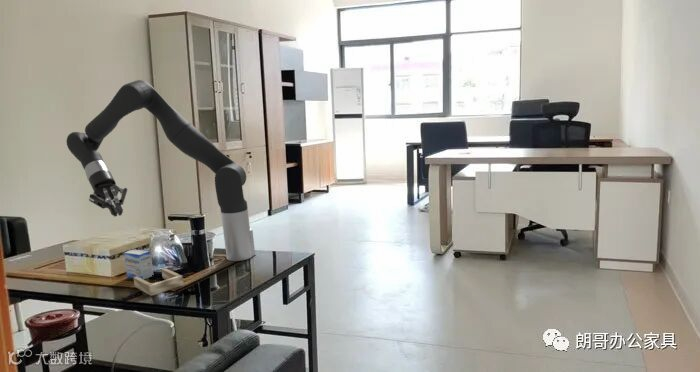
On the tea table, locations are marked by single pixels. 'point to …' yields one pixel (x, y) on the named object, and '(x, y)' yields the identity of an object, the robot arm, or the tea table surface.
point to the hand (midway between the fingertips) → (118, 214)
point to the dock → (160, 283)
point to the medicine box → (138, 264)
